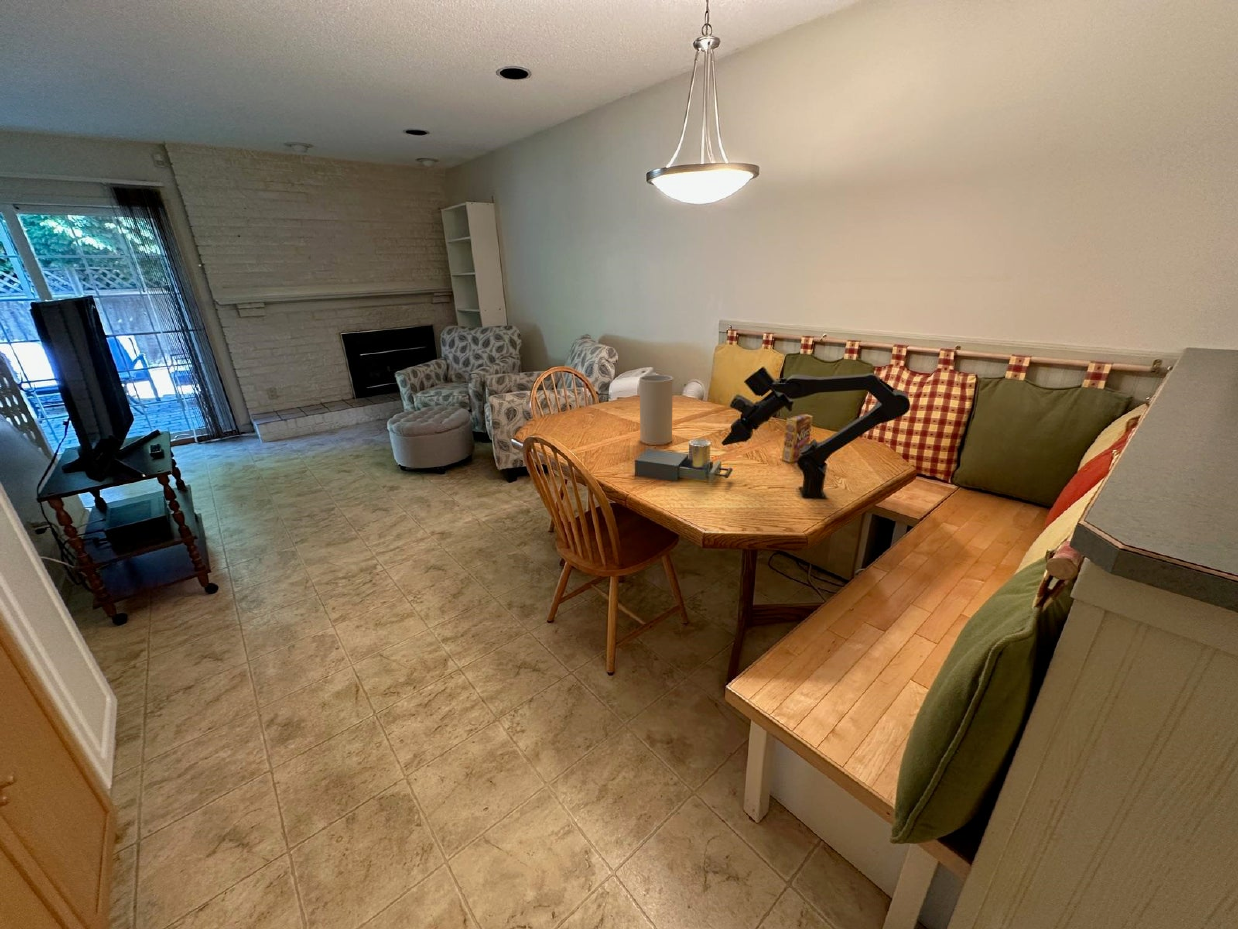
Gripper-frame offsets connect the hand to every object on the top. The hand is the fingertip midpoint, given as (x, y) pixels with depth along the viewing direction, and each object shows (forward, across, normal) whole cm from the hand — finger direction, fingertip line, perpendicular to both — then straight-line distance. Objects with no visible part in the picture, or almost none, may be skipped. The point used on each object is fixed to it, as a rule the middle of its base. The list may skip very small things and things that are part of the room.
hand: (726, 439), depth 146 cm
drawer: (+14, +1, +4) cm, 15 cm away
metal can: (+14, +1, +3) cm, 14 cm away
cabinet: (+24, +1, -5) cm, 25 cm away
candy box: (-3, -28, +22) cm, 36 cm away
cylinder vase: (+34, -29, -14) cm, 47 cm away
